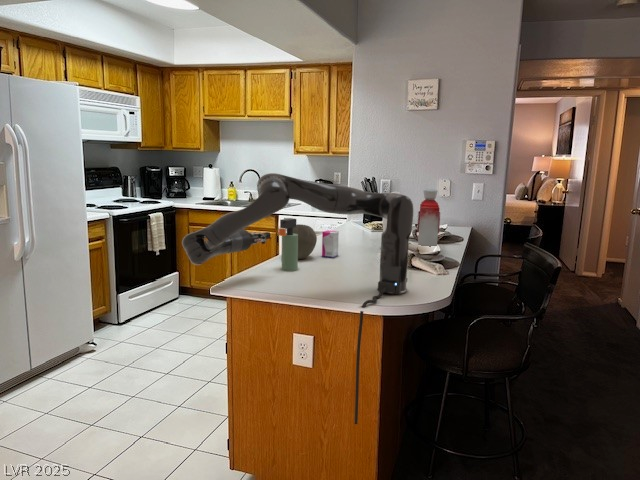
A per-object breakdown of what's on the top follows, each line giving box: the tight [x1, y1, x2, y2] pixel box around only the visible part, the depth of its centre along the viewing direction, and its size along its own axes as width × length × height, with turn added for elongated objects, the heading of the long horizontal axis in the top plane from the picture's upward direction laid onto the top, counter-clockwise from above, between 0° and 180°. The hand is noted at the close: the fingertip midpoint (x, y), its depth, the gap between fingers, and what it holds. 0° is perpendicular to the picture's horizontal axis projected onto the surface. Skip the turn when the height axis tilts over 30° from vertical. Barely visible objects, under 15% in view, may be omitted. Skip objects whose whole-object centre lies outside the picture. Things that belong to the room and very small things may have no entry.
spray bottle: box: [279, 217, 299, 272], centre depth 192 cm, size 8×6×20 cm
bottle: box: [416, 188, 441, 247], centre depth 230 cm, size 14×10×30 cm
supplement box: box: [321, 230, 340, 259], centre depth 218 cm, size 6×6×12 cm
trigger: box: [278, 228, 287, 237], centre depth 188 cm, size 1×3×3 cm, turn 53°
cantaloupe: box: [293, 223, 318, 260], centre depth 213 cm, size 14×14×15 cm
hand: (269, 235), depth 182 cm, fingers closed
